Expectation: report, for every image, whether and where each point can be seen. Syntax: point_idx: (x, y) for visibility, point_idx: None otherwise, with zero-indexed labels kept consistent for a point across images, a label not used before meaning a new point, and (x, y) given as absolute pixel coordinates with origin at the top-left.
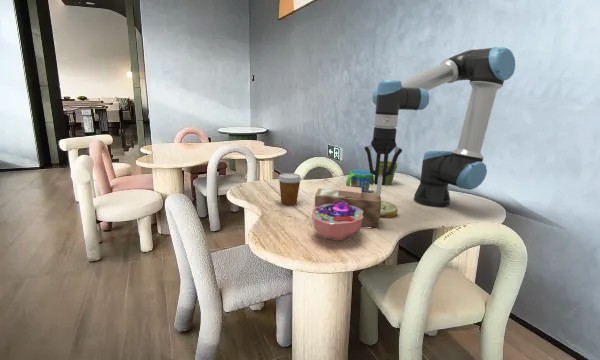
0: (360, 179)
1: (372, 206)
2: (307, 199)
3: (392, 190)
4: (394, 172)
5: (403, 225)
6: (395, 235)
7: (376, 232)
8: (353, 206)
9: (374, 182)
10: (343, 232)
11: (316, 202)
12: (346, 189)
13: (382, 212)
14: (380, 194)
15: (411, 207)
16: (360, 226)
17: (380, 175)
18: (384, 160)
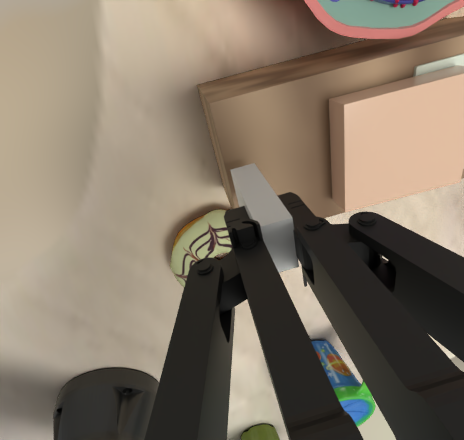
0: (331, 383)
1: (249, 87)
2: (455, 233)
3: (230, 408)
4: None
5: (122, 175)
6: (113, 42)
7: (194, 35)
8: (346, 25)
9: (297, 197)
10: None
11: None
12: (432, 121)
13: (213, 215)
14: (232, 169)
15: (149, 335)
16: None
17: (278, 259)
18: (317, 364)
